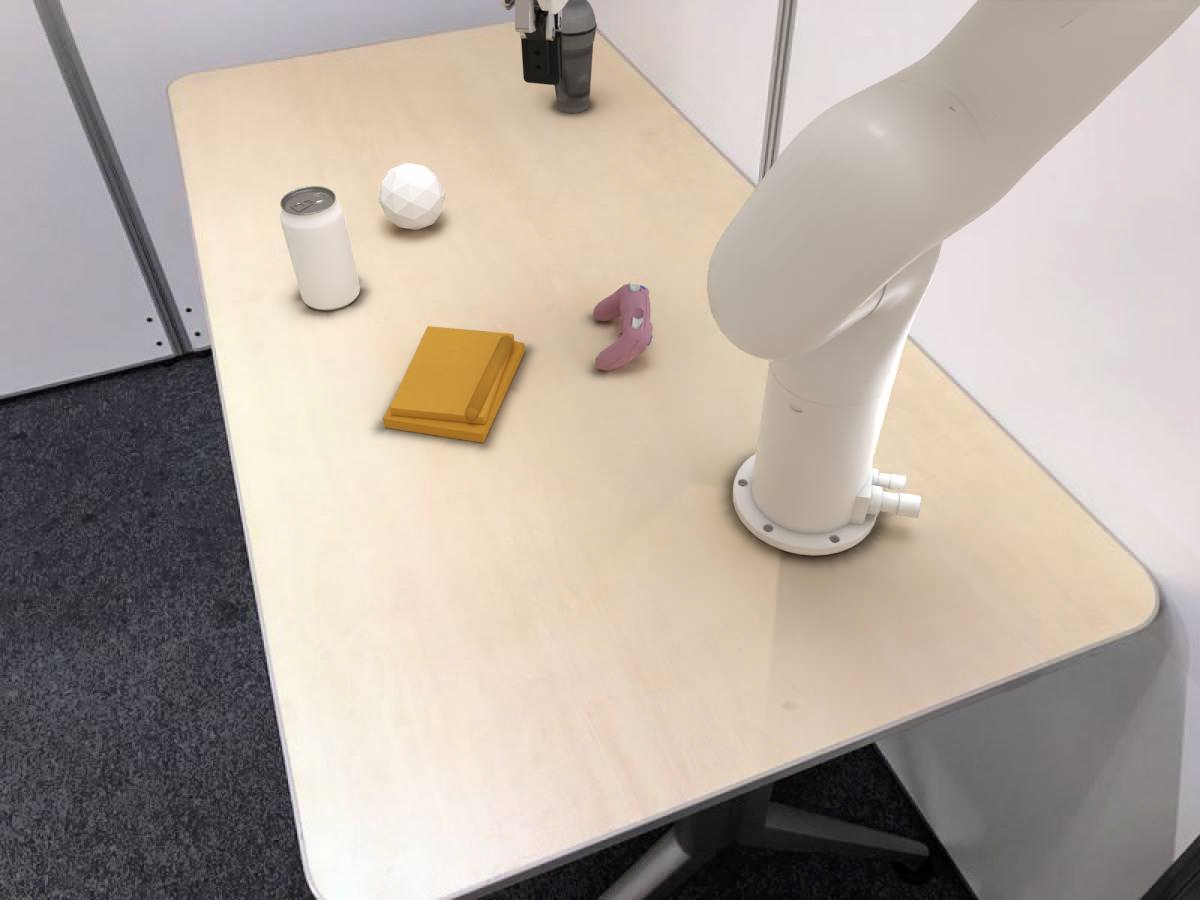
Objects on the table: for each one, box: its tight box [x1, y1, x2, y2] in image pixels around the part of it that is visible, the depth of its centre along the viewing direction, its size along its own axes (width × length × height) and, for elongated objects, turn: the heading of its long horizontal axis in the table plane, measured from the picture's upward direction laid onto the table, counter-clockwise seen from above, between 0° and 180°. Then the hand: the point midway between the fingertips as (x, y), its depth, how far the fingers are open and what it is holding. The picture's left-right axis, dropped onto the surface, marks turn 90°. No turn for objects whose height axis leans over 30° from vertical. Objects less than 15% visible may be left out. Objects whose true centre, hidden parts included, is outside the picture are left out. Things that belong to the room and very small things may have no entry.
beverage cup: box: [554, 0, 598, 114], centre depth 134 cm, size 7×7×20 cm
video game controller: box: [592, 282, 654, 371], centre depth 100 cm, size 10×5×7 cm, turn 2°
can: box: [279, 185, 361, 312], centre depth 104 cm, size 6×6×12 cm
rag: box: [382, 325, 526, 444], centre depth 96 cm, size 10×14×3 cm
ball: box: [377, 162, 446, 231], centre depth 116 cm, size 8×8×8 cm
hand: (543, 79), depth 84 cm, fingers closed
